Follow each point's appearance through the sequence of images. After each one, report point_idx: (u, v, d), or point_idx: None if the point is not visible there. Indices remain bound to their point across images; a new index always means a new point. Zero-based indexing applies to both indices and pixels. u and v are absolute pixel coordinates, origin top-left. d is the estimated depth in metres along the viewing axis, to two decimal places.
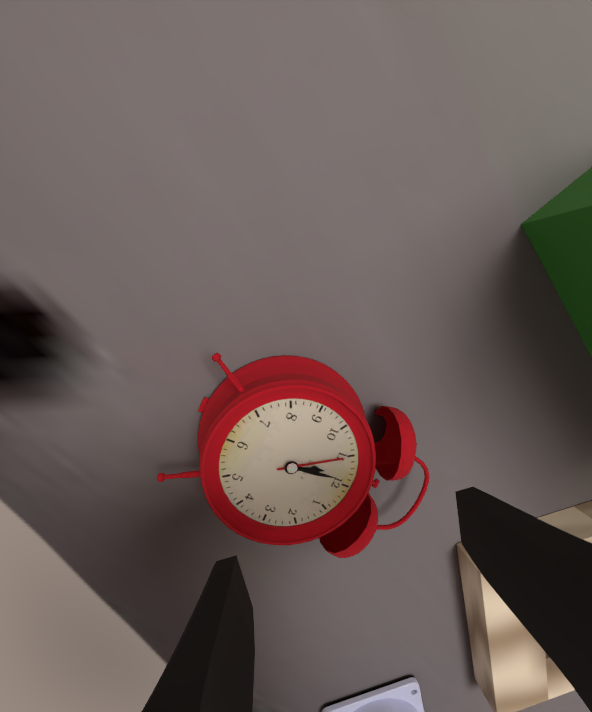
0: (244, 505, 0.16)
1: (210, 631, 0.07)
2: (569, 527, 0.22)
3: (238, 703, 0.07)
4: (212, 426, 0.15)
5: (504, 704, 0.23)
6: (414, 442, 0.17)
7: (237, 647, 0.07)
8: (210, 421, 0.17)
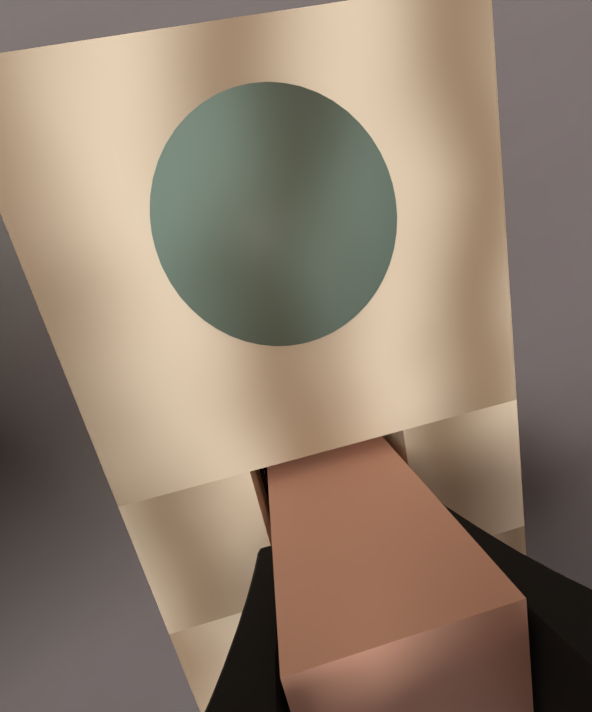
0: None
1: (269, 613, 0.07)
2: None
3: None
4: None
5: None
6: None
7: None
8: None
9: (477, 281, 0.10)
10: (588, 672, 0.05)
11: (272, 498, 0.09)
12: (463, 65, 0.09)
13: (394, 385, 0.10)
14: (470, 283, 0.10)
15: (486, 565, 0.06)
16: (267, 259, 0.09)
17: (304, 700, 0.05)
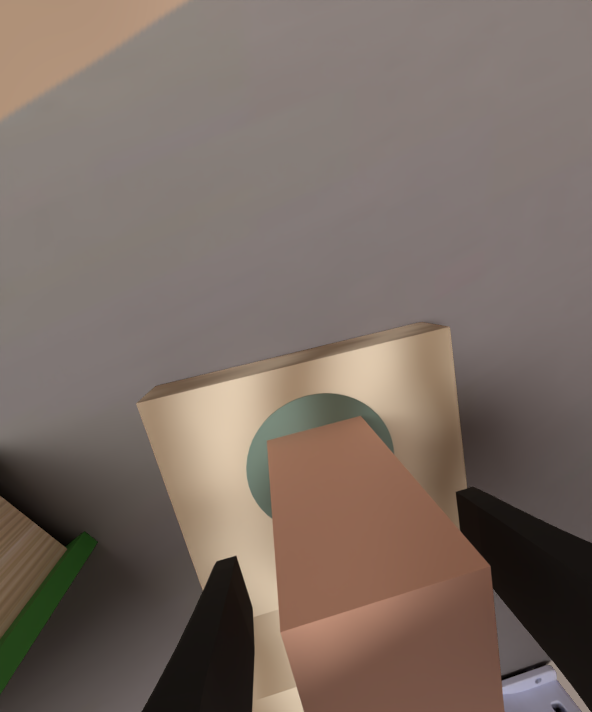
0: None
1: (210, 631, 0.07)
2: None
3: (238, 703, 0.07)
4: None
5: None
6: None
7: (237, 647, 0.07)
8: None
9: (445, 483, 0.15)
10: None
11: (273, 487, 0.10)
12: (434, 371, 0.14)
13: None
14: (441, 485, 0.15)
15: (459, 540, 0.07)
16: None
17: (301, 652, 0.06)
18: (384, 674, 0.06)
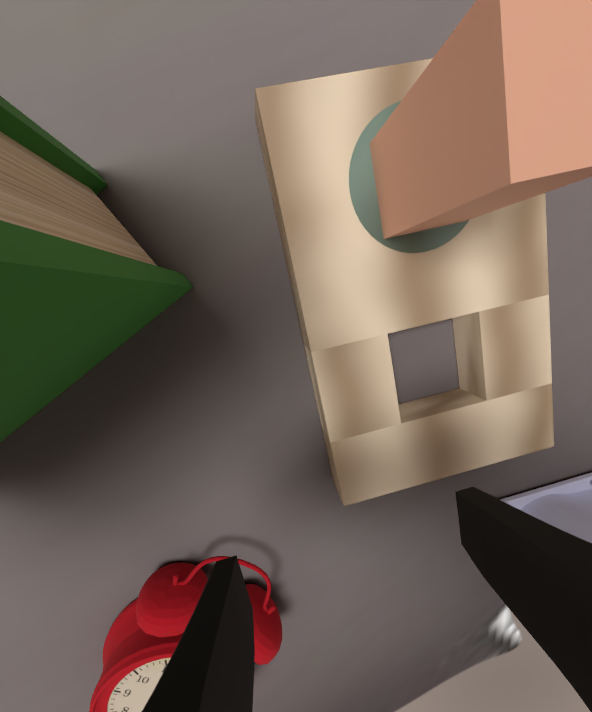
0: None
1: (210, 631, 0.07)
2: (314, 380, 0.18)
3: (238, 703, 0.07)
4: None
5: (536, 441, 0.19)
6: (151, 617, 0.17)
7: (237, 647, 0.07)
8: None
9: (527, 216, 0.16)
10: None
11: None
12: None
13: (475, 281, 0.17)
14: (523, 217, 0.16)
15: None
16: None
17: (510, 3, 0.07)
18: (573, 57, 0.07)
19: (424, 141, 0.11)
